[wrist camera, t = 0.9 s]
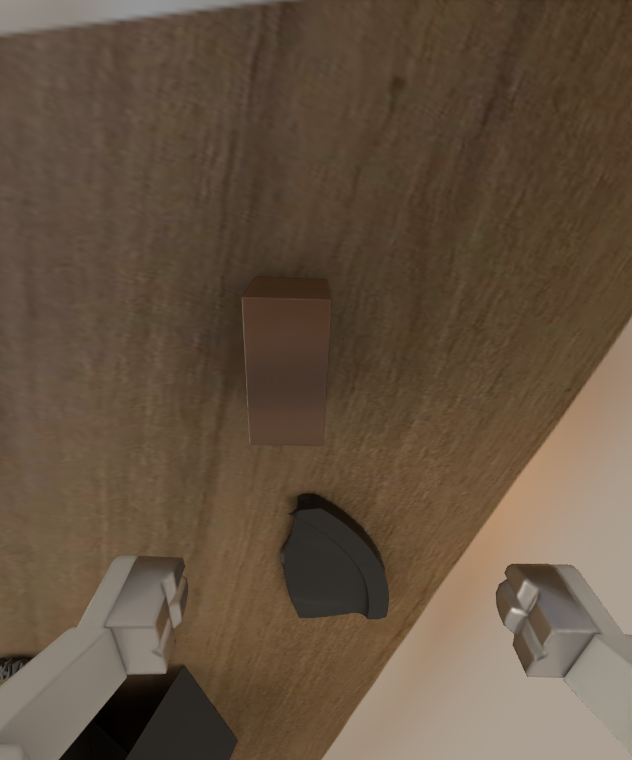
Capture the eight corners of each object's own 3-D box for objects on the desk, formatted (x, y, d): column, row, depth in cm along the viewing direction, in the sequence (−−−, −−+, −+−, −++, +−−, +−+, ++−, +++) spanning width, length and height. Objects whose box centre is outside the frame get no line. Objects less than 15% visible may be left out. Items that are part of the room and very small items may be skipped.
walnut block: (254, 276, 20) (241, 296, 16) (327, 279, 20) (332, 299, 16) (259, 403, 24) (249, 445, 20) (321, 404, 24) (323, 446, 20)
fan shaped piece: (379, 485, 27) (383, 501, 26) (386, 599, 33) (390, 617, 32) (267, 497, 27) (265, 514, 26) (295, 608, 33) (294, 627, 32)
